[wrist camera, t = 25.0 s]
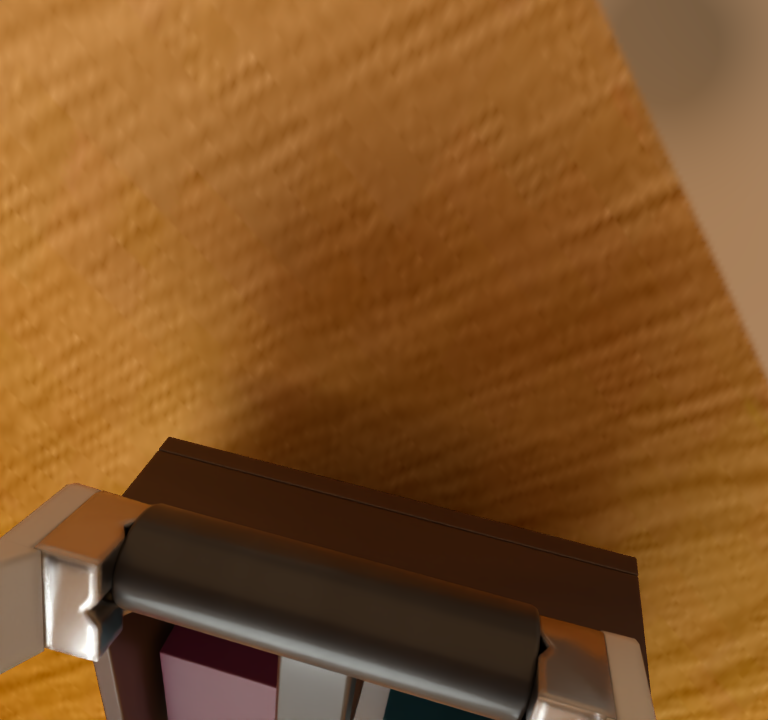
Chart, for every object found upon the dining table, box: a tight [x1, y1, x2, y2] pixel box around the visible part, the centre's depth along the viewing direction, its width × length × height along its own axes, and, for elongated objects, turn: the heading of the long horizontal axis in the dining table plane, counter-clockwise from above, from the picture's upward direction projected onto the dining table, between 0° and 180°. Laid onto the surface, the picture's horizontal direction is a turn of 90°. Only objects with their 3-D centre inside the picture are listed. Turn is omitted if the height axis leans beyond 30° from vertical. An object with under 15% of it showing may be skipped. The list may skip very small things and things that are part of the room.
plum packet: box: [160, 625, 278, 720], centre depth 22 cm, size 6×4×2 cm
